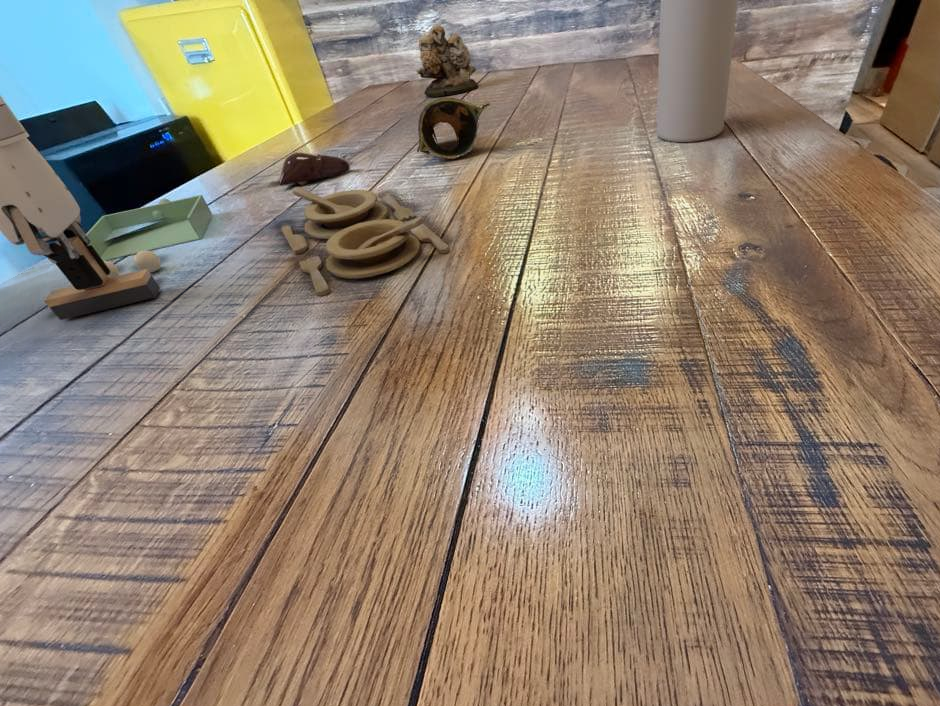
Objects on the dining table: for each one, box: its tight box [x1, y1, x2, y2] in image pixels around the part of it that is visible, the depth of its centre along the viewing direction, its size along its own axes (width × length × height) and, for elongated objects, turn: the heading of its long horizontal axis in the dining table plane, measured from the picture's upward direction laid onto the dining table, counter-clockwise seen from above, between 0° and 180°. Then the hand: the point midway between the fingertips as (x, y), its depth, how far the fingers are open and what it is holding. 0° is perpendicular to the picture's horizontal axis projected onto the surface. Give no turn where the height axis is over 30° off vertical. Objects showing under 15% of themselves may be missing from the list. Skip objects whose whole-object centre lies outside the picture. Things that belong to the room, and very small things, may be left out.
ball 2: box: [133, 250, 162, 273], centre depth 77 cm, size 3×3×3 cm
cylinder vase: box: [655, 0, 739, 143], centre depth 91 cm, size 12×12×25 cm
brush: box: [43, 236, 161, 321], centre depth 67 cm, size 12×3×9 cm, turn 108°
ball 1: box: [103, 260, 120, 278], centre depth 76 cm, size 3×3×3 cm
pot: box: [416, 96, 491, 160], centre depth 106 cm, size 17×11×18 cm
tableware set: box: [280, 186, 450, 297], centre depth 76 cm, size 30×20×6 cm, turn 30°
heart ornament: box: [279, 151, 351, 187], centre depth 104 cm, size 6×12×11 cm
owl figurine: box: [416, 24, 479, 98], centre depth 153 cm, size 18×12×17 cm, turn 115°
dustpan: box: [85, 194, 213, 261], centre depth 91 cm, size 19×17×4 cm
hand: (94, 280), depth 68 cm, fingers closed on brush, 2 cm apart
